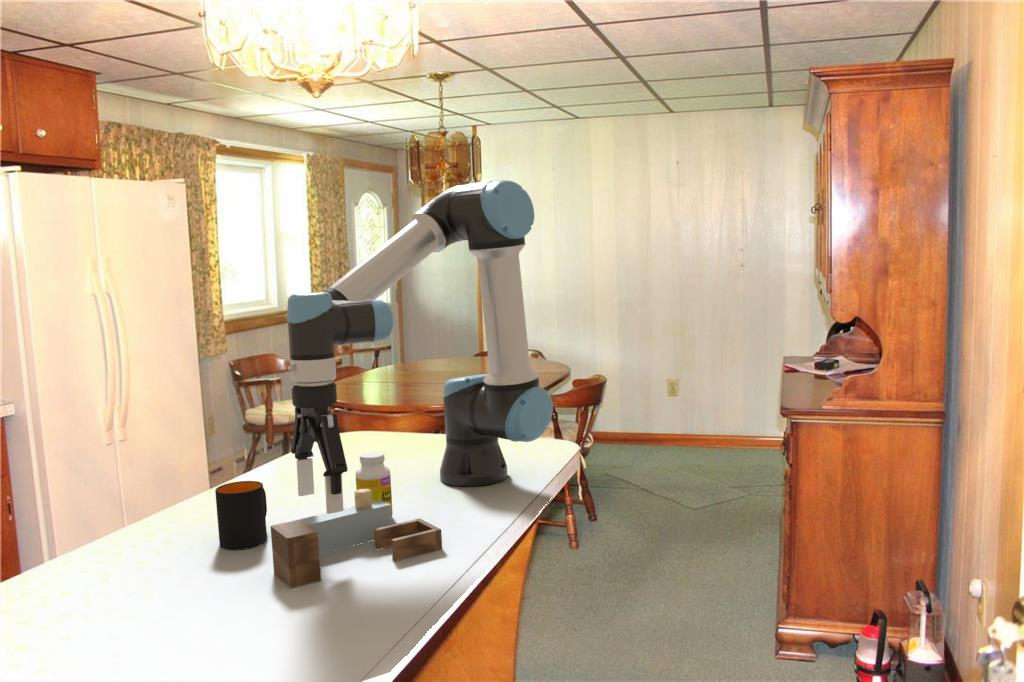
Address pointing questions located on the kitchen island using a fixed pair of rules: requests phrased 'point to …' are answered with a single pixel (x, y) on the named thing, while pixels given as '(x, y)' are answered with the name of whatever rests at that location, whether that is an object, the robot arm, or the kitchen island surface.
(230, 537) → the mug
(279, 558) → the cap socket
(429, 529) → the brown wooden u-shaped frame
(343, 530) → the slat
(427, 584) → the kitchen island surface
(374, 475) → the supplement bottle
